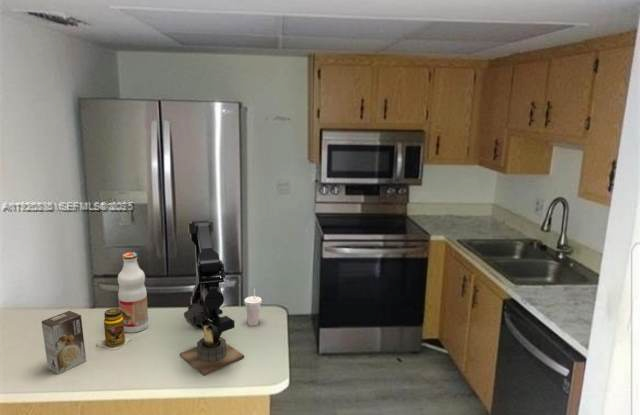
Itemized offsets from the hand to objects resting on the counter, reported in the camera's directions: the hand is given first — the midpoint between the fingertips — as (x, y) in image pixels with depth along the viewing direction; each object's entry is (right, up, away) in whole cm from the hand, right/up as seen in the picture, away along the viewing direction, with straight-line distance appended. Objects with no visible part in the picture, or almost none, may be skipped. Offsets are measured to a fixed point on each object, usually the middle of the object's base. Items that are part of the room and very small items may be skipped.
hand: (211, 340), depth 154 cm
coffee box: (-44, -6, -5) cm, 45 cm away
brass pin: (0, -3, +1) cm, 3 cm away
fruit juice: (-32, -1, +20) cm, 38 cm away
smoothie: (+10, -1, +25) cm, 27 cm away
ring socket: (0, -6, +1) cm, 6 cm away
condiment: (-35, -3, +9) cm, 37 cm away
